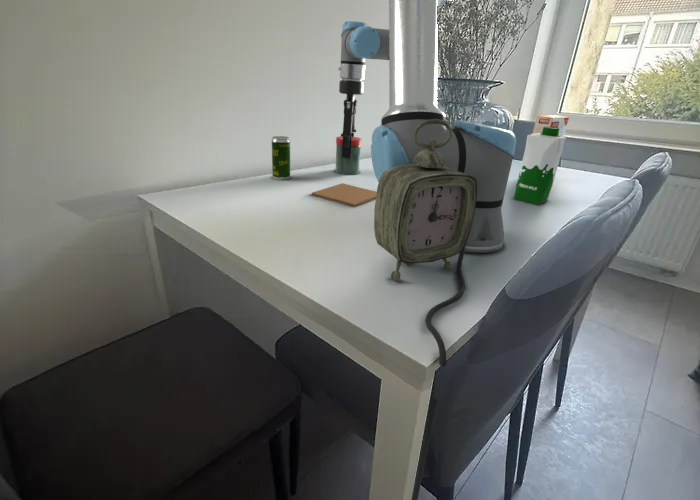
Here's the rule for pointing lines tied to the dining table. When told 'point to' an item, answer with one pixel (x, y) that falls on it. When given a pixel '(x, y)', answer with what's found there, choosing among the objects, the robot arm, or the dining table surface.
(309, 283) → the dining table surface
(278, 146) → the beer can
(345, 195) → the mat
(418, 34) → the robot arm
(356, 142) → the lid
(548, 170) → the milk carton
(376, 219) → the tabletop clock
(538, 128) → the cracker box
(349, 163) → the jar
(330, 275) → the dining table surface
